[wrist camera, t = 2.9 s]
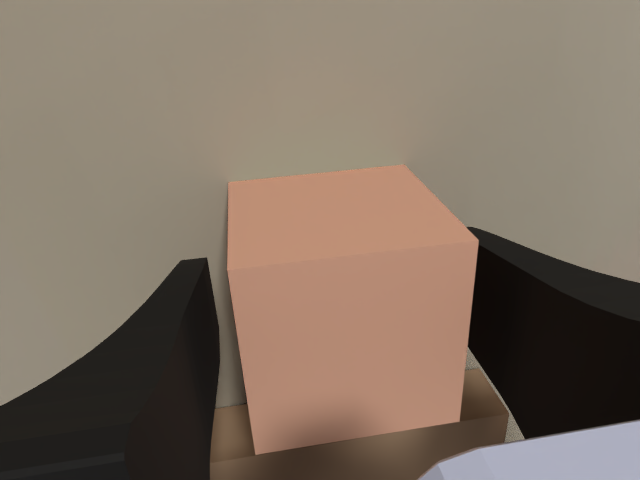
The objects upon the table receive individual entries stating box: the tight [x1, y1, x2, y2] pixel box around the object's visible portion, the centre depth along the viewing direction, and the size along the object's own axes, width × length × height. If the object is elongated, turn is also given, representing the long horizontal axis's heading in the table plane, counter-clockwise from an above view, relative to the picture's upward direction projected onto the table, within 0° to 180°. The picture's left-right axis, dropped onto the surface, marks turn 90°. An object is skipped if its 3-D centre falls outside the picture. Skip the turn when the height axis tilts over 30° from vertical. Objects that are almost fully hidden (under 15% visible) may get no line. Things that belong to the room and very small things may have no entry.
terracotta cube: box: [227, 165, 479, 455], centre depth 12 cm, size 4×4×4 cm
